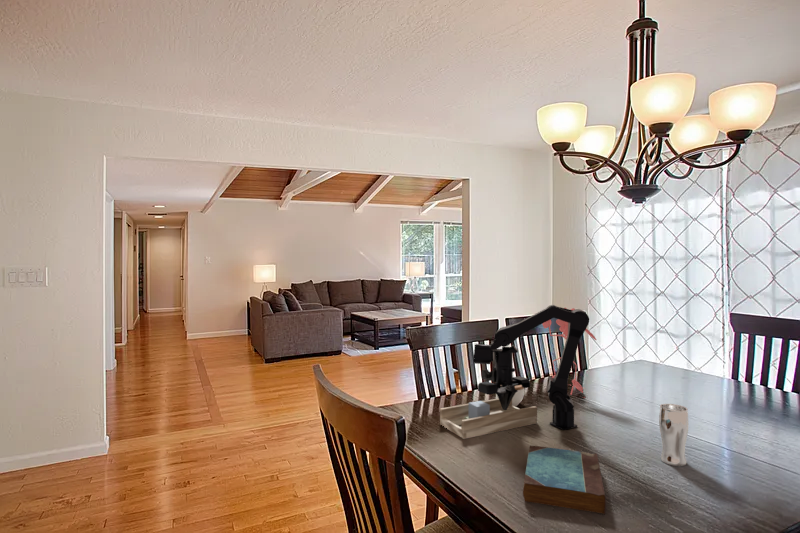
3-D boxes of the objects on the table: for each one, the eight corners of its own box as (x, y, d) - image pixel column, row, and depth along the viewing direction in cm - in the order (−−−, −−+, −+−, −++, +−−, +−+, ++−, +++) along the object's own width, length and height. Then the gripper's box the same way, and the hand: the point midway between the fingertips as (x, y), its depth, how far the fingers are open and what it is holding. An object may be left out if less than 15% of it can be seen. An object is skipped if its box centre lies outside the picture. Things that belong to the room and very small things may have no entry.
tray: (537, 423, 159) (537, 407, 159) (463, 438, 146) (463, 421, 146) (509, 411, 172) (509, 396, 172) (440, 424, 159) (439, 408, 158)
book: (605, 517, 102) (605, 494, 102) (522, 504, 108) (522, 482, 108) (597, 472, 124) (597, 453, 124) (528, 463, 130) (528, 445, 130)
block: (489, 419, 156) (489, 404, 156) (477, 422, 154) (477, 406, 154) (480, 415, 160) (480, 400, 160) (468, 417, 158) (468, 402, 158)
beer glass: (661, 454, 134) (662, 401, 134) (690, 460, 130) (690, 406, 129) (656, 462, 129) (656, 407, 128) (686, 469, 124) (686, 413, 124)
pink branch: (588, 400, 184) (589, 311, 184) (534, 386, 205) (535, 306, 205) (609, 394, 194) (610, 309, 194) (554, 381, 214) (555, 304, 214)
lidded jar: (522, 399, 186) (522, 376, 186) (526, 408, 175) (526, 383, 175) (494, 399, 187) (494, 375, 187) (497, 407, 176) (497, 382, 176)
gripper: (509, 357, 173) (510, 399, 173) (468, 363, 164) (468, 407, 165) (531, 363, 163) (531, 408, 163) (487, 369, 155) (488, 417, 155)
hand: (504, 409), depth 162 cm, fingers closed
